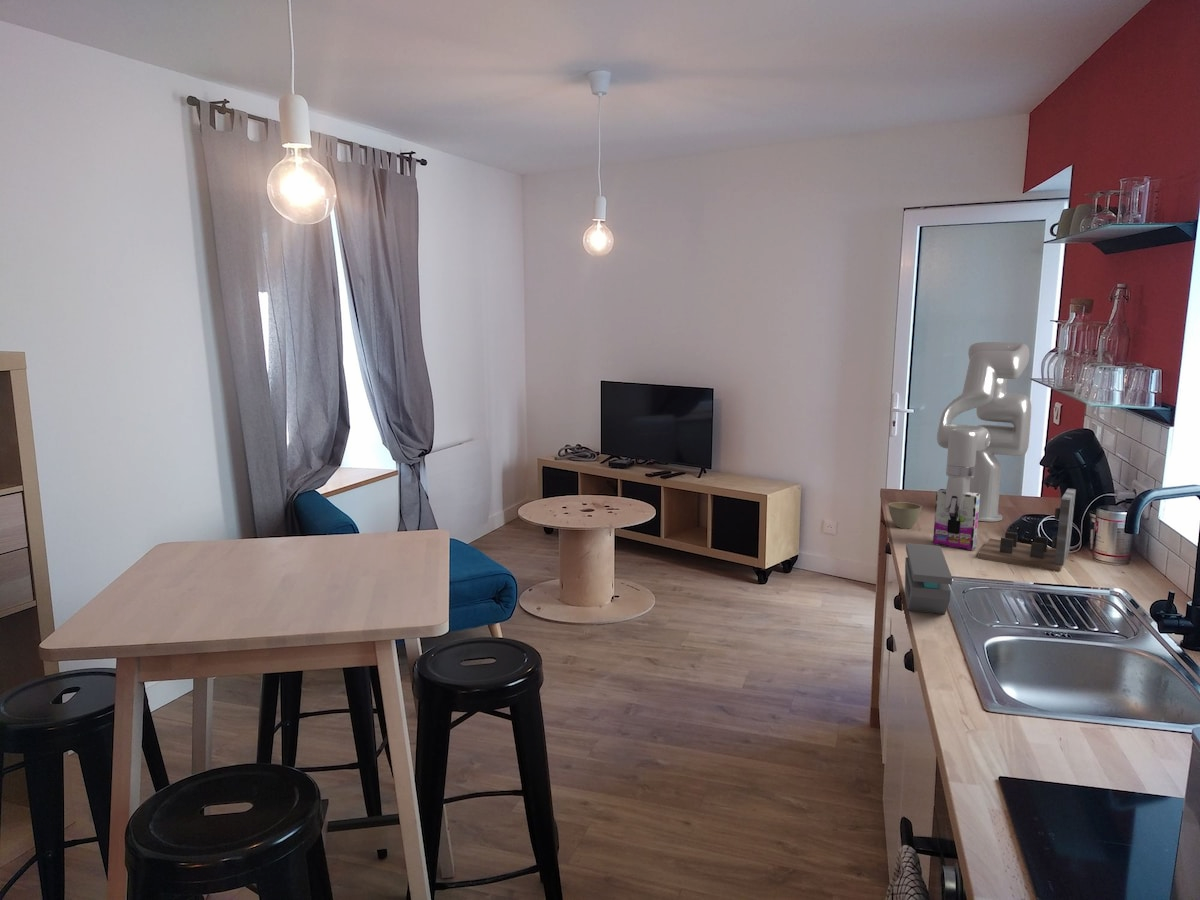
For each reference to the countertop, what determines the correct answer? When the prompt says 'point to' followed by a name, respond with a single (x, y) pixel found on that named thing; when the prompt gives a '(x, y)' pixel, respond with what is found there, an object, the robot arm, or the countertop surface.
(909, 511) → the flower pot
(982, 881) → the countertop surface
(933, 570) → the grey lidded box
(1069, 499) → the wooden bookend
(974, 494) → the candy bar box
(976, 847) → the countertop surface
